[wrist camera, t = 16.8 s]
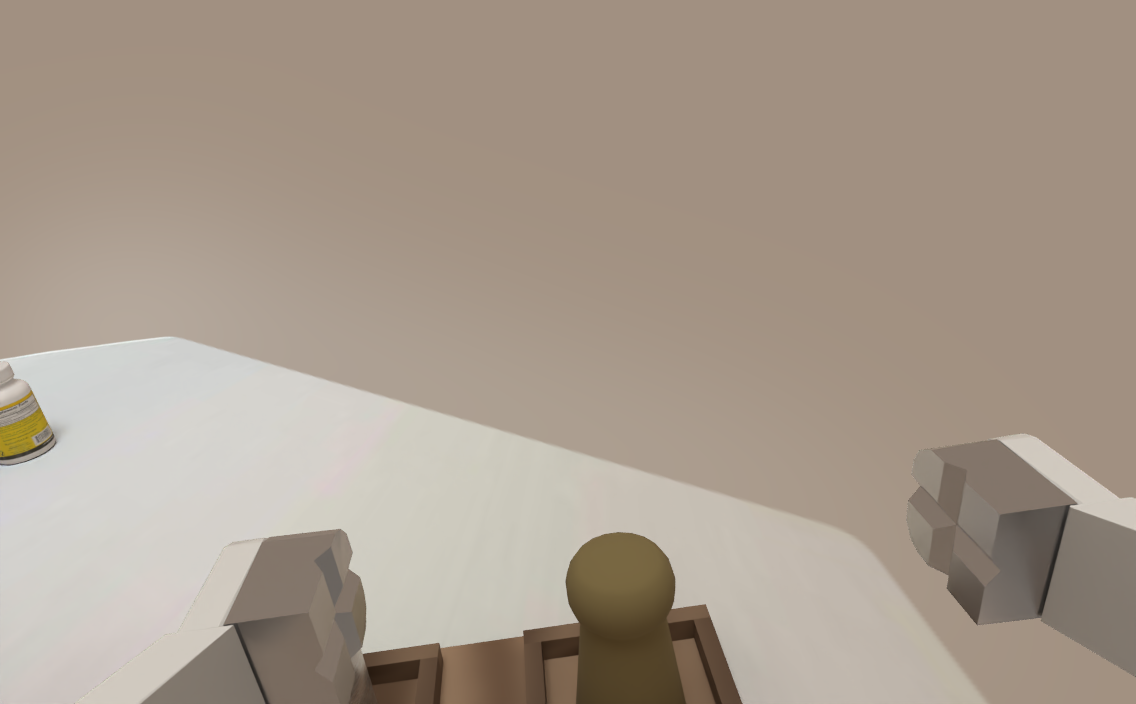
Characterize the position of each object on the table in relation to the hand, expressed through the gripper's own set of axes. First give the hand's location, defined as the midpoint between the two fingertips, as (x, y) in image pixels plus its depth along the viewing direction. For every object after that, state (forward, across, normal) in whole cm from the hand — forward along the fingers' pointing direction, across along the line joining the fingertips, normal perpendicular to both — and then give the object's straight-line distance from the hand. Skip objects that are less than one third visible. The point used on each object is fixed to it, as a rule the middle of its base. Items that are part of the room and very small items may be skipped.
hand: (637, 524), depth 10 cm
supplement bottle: (+59, +56, +28) cm, 86 cm away
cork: (+17, -1, +27) cm, 32 cm away
